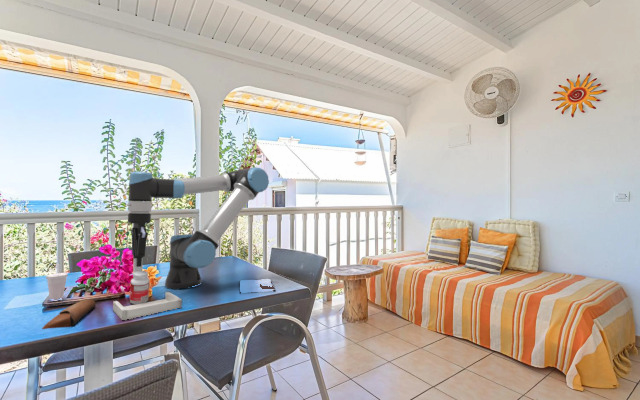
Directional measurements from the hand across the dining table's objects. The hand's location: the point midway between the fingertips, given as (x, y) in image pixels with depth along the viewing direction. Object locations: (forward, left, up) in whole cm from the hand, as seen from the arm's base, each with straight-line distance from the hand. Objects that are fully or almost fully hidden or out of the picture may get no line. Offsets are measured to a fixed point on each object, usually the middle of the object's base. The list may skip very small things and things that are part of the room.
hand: (137, 274), depth 120 cm
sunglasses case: (+20, +4, -11) cm, 23 cm away
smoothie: (+22, -22, -10) cm, 32 cm away
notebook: (-46, +12, -11) cm, 48 cm away
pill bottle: (0, +1, -10) cm, 10 cm away
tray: (0, +12, -10) cm, 16 cm away
